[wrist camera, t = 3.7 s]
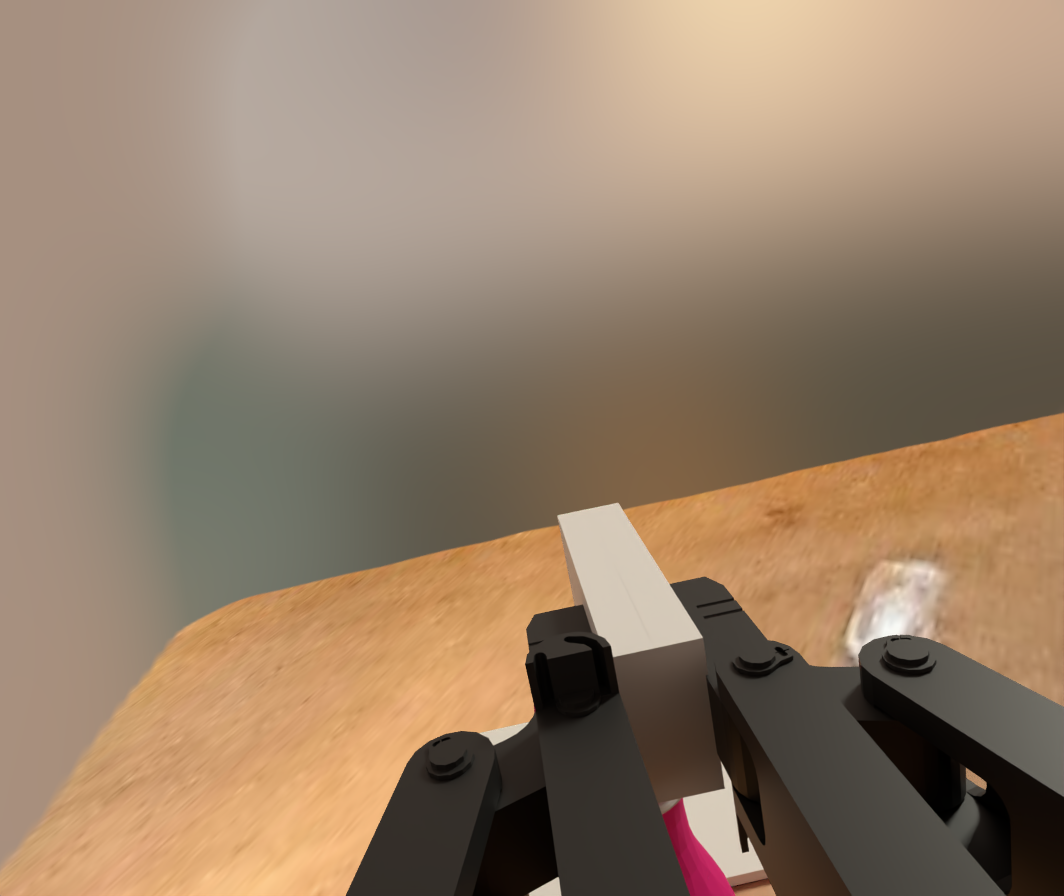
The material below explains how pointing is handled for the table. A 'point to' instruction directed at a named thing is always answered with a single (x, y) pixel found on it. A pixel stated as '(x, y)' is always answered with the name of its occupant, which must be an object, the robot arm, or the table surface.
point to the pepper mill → (692, 854)
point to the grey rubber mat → (707, 821)
